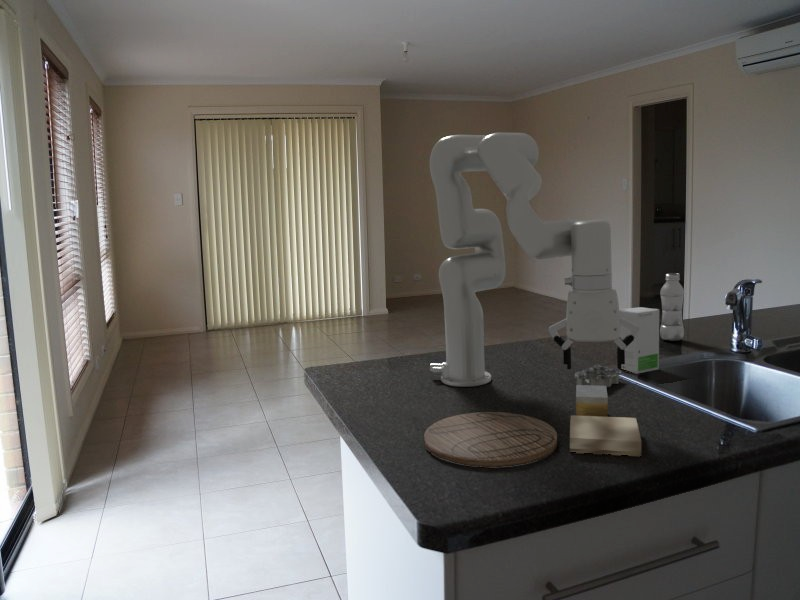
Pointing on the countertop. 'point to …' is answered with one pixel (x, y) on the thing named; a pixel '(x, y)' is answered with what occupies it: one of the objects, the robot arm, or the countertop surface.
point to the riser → (605, 435)
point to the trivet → (491, 439)
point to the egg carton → (598, 376)
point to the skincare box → (641, 340)
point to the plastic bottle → (672, 308)
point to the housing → (591, 400)
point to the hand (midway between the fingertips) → (593, 367)
